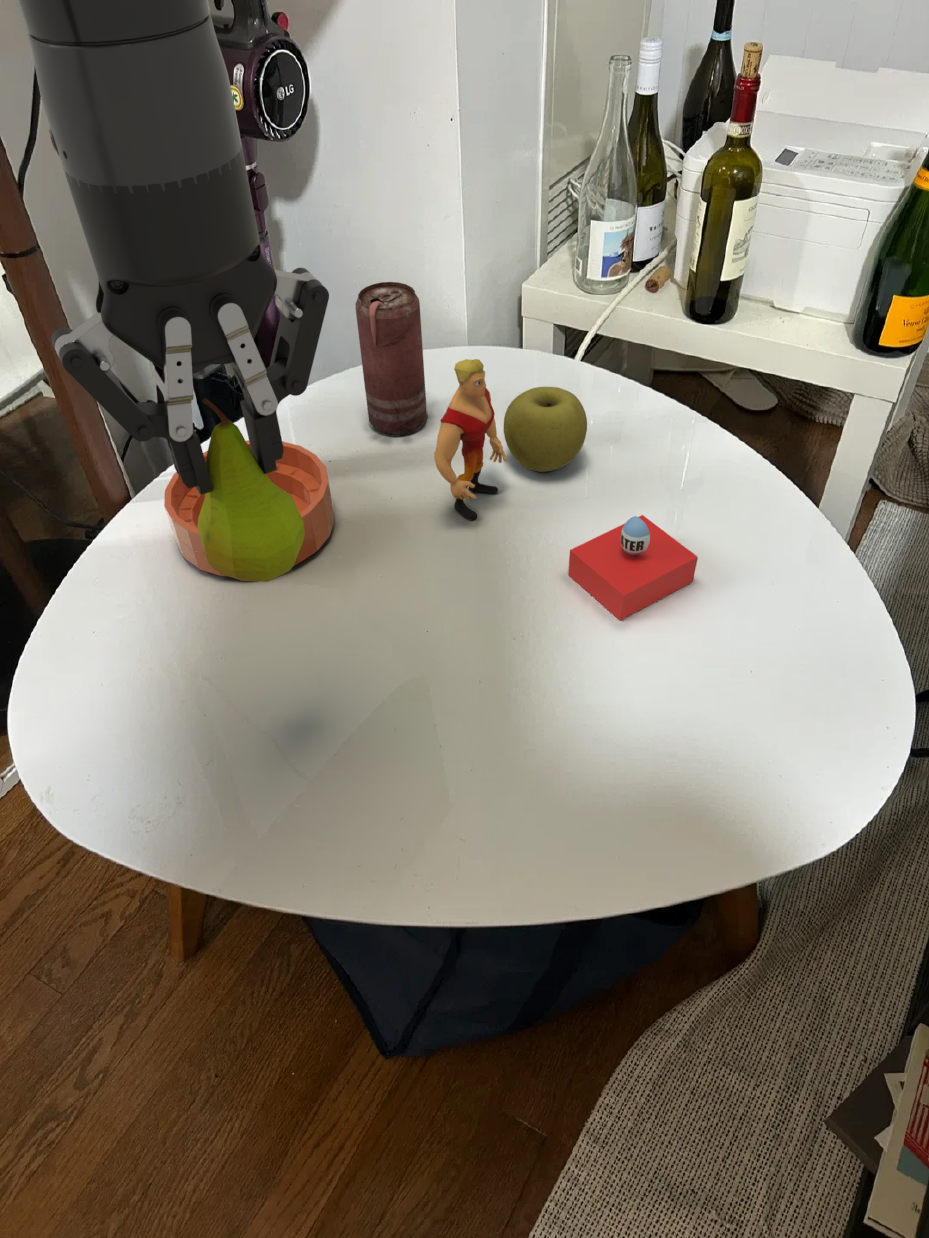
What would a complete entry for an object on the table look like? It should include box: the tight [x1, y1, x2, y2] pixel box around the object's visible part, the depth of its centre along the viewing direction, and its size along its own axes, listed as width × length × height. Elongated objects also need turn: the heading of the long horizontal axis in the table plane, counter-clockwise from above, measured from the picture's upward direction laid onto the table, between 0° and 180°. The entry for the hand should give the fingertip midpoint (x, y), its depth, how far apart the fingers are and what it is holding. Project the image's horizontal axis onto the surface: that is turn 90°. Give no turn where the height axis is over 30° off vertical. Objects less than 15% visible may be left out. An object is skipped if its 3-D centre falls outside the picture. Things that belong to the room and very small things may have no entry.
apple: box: [503, 386, 588, 473], centre depth 88 cm, size 8×8×7 cm
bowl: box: [163, 439, 336, 577], centre depth 83 cm, size 14×14×5 cm
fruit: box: [197, 397, 305, 583], centre depth 52 cm, size 6×6×12 cm
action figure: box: [433, 358, 508, 521], centre depth 81 cm, size 10×4×15 cm, turn 152°
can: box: [354, 281, 428, 437], centre depth 91 cm, size 6×6×14 cm
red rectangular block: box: [567, 514, 699, 621], centre depth 76 cm, size 8×7×6 cm
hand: (234, 474), depth 51 cm, fingers closed on fruit, 3 cm apart
